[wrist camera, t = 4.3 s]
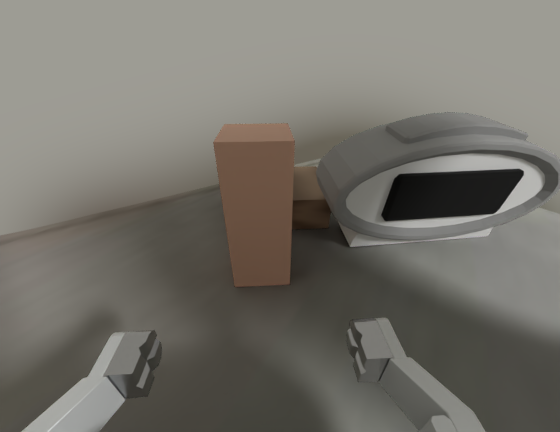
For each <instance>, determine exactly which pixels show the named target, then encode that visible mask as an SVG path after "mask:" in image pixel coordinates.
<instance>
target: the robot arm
mask: <svg viewBox="0 0 560 432" xmlns="http://www.w3.org/2000/svg"><path fill="white" fill-rule="evenodd" d="M349 326H350V329H349V330H348V331H347V335H346V336H347V346H348V350H349V353H350V354H351V356H352V357H353V358H354V359H355V360H354V363H353V367H354V370H355V373H356V377H357V380H358V382H379V384H380V385H381V386H382V387H383V388H384V390H385V391H386V392H387V393H388V394H389V396H390V397H391V398H392V399H393V400H394V402H395V403H396V404H397V405H398V406H399V407H400V409H401V410H402V411H403V412H404V413H405V415H406V416H407V417H408V418H409V419H410V421H411V422H412V423H413V424H414V425H415V426H416V428H417V429H418V430H419V432H485V430H484V428H483V426H482V425H481V423H480V421H479V420H478V418H477V416H476V415H475V413H474V412H473V411H472V410H471V409H470V408H469V407H468V406H466V405H465V404H464V403H463V402H462V401H461V400H459V399H458V398H457V397H456V396H455V395H454V394H453V393H451V392H450V391H449V390H448V389H447V388H446V387H444V386H443V385H442V384H441V383H440V382H439V381H438V380H436V379H435V378H434V377H433V376H432V375H431V374H429V373H428V372H427V371H426V370H425V369H424V368H423V367H421V366H420V365H419V364H418V363H417V362H416V361H415V360H413V359H412V358H411V357H407V356H406V354H405V352H404V350H403V348H402V346H401V344H400V342H399V340H398V338H397V336H396V334H395V332H394V329H393V327H392V325H391V323H390V321H389V320H388V319H387V318H366V319H353V320H350V323H349ZM156 337H157V334H156V332H155V330H153V331H135V332H114V333H113V334H112V335H111V336H110V338H109V339H108V341H107V343H106V345H105V346H104V348H103V350H102V352H101V354H100V355H99V357H98V359H97V361H96V363H95V364H94V366H93V368H92V370H91V372H90V373H89V375H88V377H86V378H82V379H81V380H80V381H79V382H78V383H77V384H75V385H74V386H73V387H72V388H71V389H70V390H69V391H67V392H66V393H65V394H64V395H63V396H62V397H61V398H59V399H58V400H57V401H56V402H55V403H54V404H52V405H51V406H50V407H49V408H48V409H47V410H46V411H44V412H43V413H42V414H41V415H40V416H39V417H38V418H36V419H35V420H34V421H33V422H32V423H31V424H29V425H28V426H27V427H26V428H25V429H24V430H23V431H21V432H99V431H100V430H101V429H102V428H103V426H104V425H105V424H106V423H107V422H108V420H109V419H110V418H111V417H112V416H113V414H114V413H115V412H116V411H117V410H118V408H119V407H120V406H121V405H122V404H123V402H124V401H125V399H127V398H137V397H148V395H149V392H150V389H151V386H152V383H153V380H154V378H155V377H154V374H153V371H154V370H155V369H156V368H157V367H158V365H159V363H160V360H161V355H162V344H161V342H160V341H159V340H157V339H156Z"/></svg>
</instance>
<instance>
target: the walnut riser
mask: <svg viewBox="0 0 560 432" xmlns="http://www.w3.org/2000/svg"><path fill="white" fill-rule="evenodd" d="M316 170H317V167H294V177H293V207H292V229H316V228H329V220H330V213H331V209H330V207H329V205H328V203H327V201H326V199H325V197H324V195H323V193H322V191H321V189H320V187H319V185H318V182H317V176H316Z"/></svg>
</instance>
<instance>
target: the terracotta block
mask: <svg viewBox="0 0 560 432" xmlns="http://www.w3.org/2000/svg"><path fill="white" fill-rule="evenodd" d="M213 143H214V150H215V157H216V164H217V171H218V177H219V184H220V191H221V198H222V204H223V211H224V218H225V225H226V231H227V238H228V245H229V252H230V259H231V265H232V272H233V279H234V286H235V287H248V286H270V285H290V267H291V237H292V207H293V177H294V145H295V141H294V138H293V135H292V133H291V130H290V128H289V125H288V123H281V124H279V123H278V124H277V123H276V124H224V126H223V127H222V129H221V130H220V132H219V134H218V135H217V137H216V139H215V141H214V142H213Z"/></svg>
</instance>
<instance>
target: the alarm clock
mask: <svg viewBox="0 0 560 432" xmlns="http://www.w3.org/2000/svg"><path fill="white" fill-rule="evenodd" d="M527 137H528V134H527V133H526V132H523V131H521V130H518V129H515V128H513V127H510V126H507V125H504V124H502V123H499V122H497V121H494V120H491V119H488V118H486V117H482V116H478V115H473V114H468V113H455V112H445V113H433V114H426V115H421V116H416V117H410V118H407V119H403V120H400V121H396V122H393V123H389V124H385V125H380V126H377V127H374V128H372V129H369V130H366V131H364V132H361V133H358V134H355V135H353V136H351V137H350V138H348V139H346V140H344V141H343V142H341V143H339V144H338V145H336V146H334V147H333V148H332V149H331V150H330V151H329V152H328V153H327V154H326V155H325V156H324V157H323V158H322V159H321V160H320V163H319V165H318V168H317V170H316V176H317V182H318V185H319V187H320V189H321V191H322V193H323V195H324V197H325V199H326V201H327V203H328V205H329V207H330V209H331V211H332V213H333V215H334V216H335V218H336V219H337V221H338V223H339V225H340V227H341V229H342V232H343V234H344V236H345V238H346V240H347V242H348V244H349V246H350V247H357V246H370V245H383V244H396V243H408V242H421V241H434V240H447V239H460V238H472V237H485V236H488V235H489V233H490V232H491V230H492V228H493V227H495V226H498V225H502V224H505V223H507V222H510V221H512V220H514V219H517V218H519V217H521V216H524V215H526V214H528V213H530V212H531V211H533V210H535V209H536V208H538V207H540V206H541V205H543V204H545V203H546V202H547V201H548V200H549V199H551V198H552V197H553V196H554V195H555V194H556V193H557V192H558V191H559V190H560V159H559V158H558V157H557V155H556V154H554V153H552V152H550V151H548V150H546V149H544V148H542V147H540V146H538V145H536V144H533V143H531V142H528V141H526V138H527Z"/></svg>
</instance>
